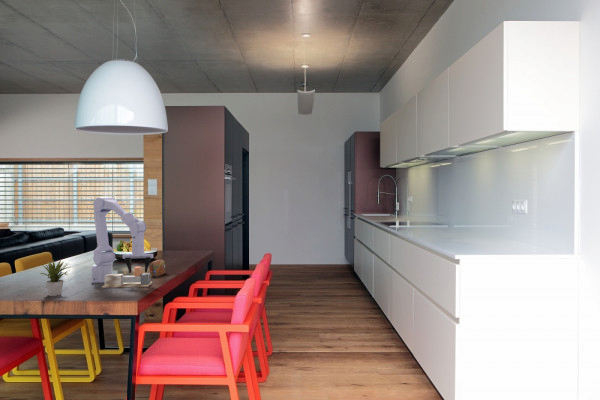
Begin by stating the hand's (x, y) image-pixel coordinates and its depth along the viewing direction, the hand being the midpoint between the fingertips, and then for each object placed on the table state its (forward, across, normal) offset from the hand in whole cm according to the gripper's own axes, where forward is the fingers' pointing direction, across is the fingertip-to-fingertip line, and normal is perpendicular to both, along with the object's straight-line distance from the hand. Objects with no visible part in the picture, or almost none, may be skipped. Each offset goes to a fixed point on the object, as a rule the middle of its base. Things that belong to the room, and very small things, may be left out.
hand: (138, 272), depth 237 cm
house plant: (+6, -32, -21) cm, 38 cm away
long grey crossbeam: (+5, -3, 0) cm, 6 cm away
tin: (+6, +4, +30) cm, 31 cm away
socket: (+6, +4, 0) cm, 7 cm away
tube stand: (+6, -5, 0) cm, 8 cm away
